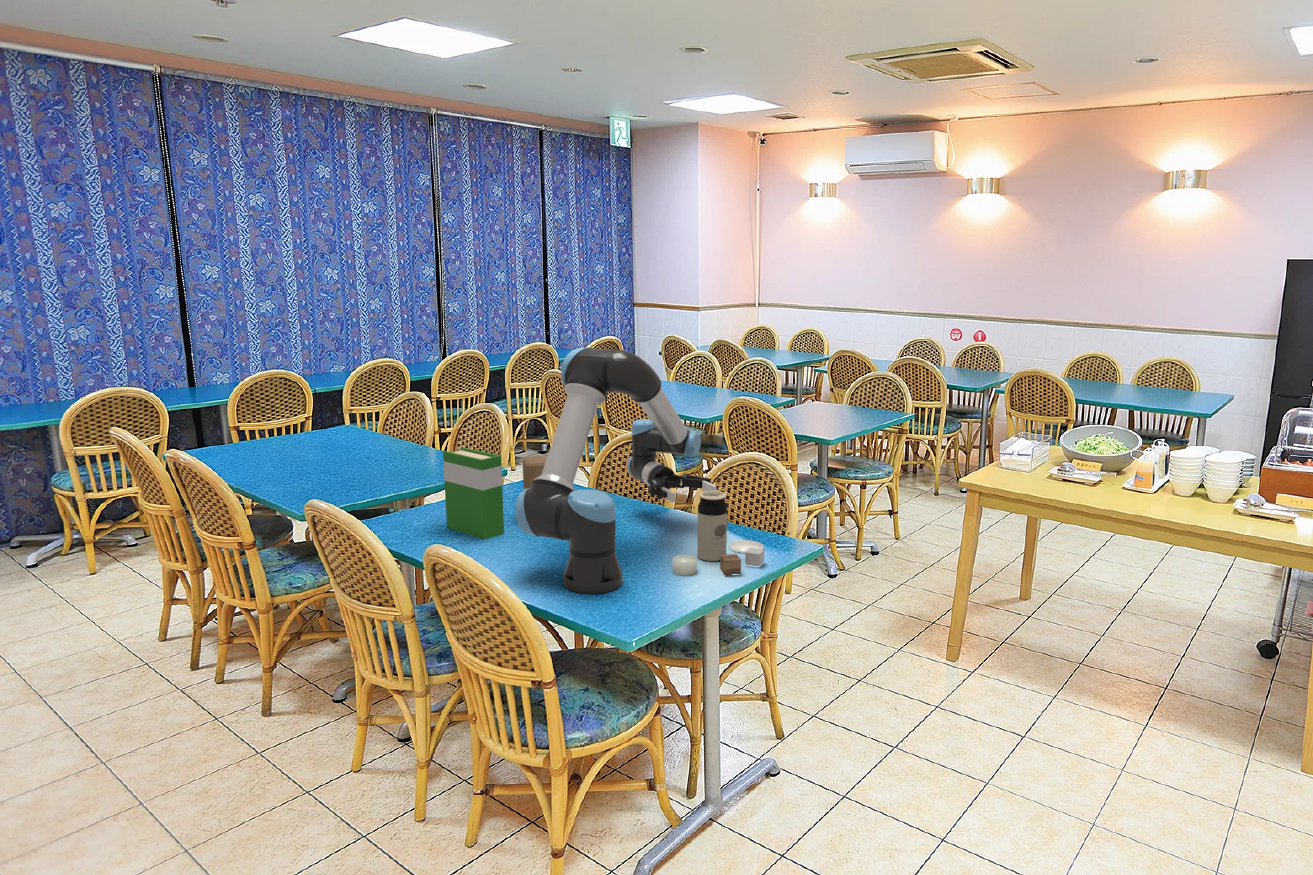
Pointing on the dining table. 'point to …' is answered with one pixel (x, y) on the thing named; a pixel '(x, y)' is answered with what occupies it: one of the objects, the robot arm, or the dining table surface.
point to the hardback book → (474, 492)
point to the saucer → (745, 545)
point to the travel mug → (712, 525)
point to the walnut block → (730, 564)
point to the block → (532, 469)
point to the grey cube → (754, 557)
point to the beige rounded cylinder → (684, 565)
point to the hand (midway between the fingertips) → (695, 494)
